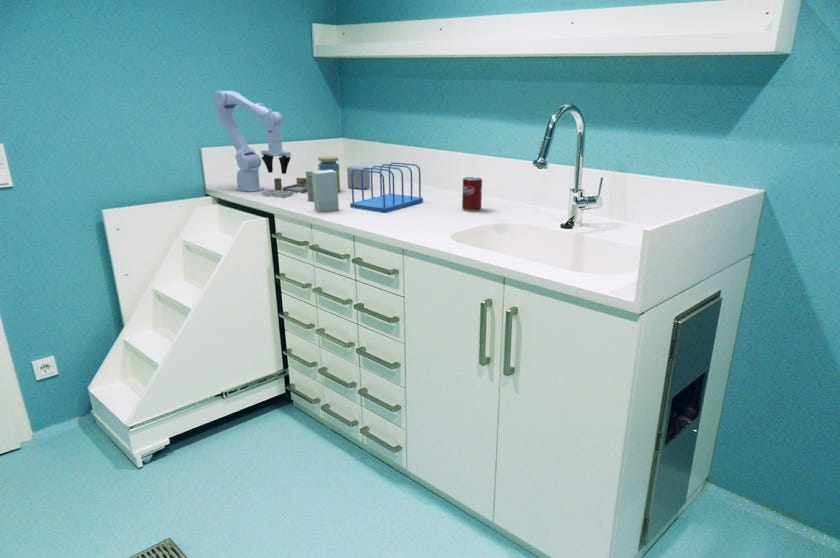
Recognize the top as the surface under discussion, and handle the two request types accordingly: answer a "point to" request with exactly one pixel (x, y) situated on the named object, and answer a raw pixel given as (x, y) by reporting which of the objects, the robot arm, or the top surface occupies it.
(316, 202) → the skincare box
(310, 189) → the skincare box
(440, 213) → the top surface
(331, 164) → the jar
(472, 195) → the soda can
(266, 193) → the socket board
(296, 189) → the pattern board
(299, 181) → the cover
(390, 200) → the file sorter
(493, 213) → the top surface
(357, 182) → the electronic device
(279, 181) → the peg
